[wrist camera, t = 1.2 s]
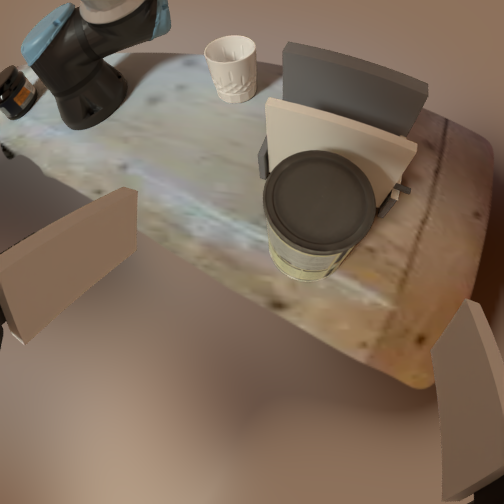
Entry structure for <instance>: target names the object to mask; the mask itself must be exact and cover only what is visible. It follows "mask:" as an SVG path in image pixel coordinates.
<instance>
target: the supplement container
mask: <svg viewBox="0 0 504 504" xmlns="http://www.w3.org/2000/svg"><path fill="white" fill-rule="evenodd" d="M36 97H37V90H36V88H34V87H33V85H32V84H31V83H30V82H29V81H28V79H27V78H26V77H25V76H24V74H23V72H21V71H18V70H17V68H16V67H15V66H14V65H12V66H9V67H7V68H6V69H4V70H3V71H2V72H1V73H0V110H1V111H2V112H3V113H4V114H5V115H6V116H7V118H8V119H10V120H16V119H18V118H20V117H21V116H23V115H24V114H25V113H26V112H27V111H28V110H29V109H30V108H31V106H32V105H33V103H34V102H35V100H36Z"/></svg>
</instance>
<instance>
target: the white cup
mask: <svg viewBox="0 0 504 504" xmlns="http://www.w3.org/2000/svg"><path fill="white" fill-rule="evenodd" d="M204 55H205V58H206V61H207V64H208V68H209V71H210V74H211V77H212V80H213V82H214V85H215V86H216V89H217V92H218V96H219V98H221V99H222V100H223V101H224V102H228V103H231V104H234V103H242V102H245V101H248V100H249V99H251V98H252V97H253V96H254V95H255V92H256V89H257V88H256V78H257V73H256V72H257V64H256V45H255V43H254V41H253V40H252V39H250V38H248V37H245V36H240V35H230V36H224V37H220V38H218V39H216V40H214V41H212V42H210V43H209V44H208V45H207V46H206V48H205V50H204Z"/></svg>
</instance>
